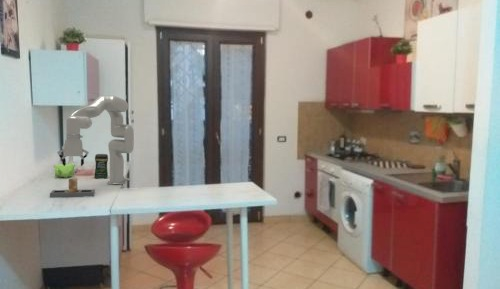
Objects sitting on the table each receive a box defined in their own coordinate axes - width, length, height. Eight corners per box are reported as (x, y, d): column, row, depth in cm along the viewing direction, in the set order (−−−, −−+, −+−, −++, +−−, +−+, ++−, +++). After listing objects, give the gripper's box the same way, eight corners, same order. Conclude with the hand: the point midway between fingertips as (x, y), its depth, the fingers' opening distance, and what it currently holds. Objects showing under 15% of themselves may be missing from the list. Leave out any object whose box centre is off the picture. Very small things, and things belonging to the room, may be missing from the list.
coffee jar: (93, 178, 303) (93, 154, 302) (95, 177, 311) (95, 153, 310) (107, 178, 305) (107, 154, 304) (108, 177, 313) (108, 153, 312)
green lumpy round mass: (71, 175, 316) (72, 161, 315) (77, 178, 305) (78, 163, 304) (51, 176, 306) (51, 162, 305) (56, 179, 295) (56, 164, 295)
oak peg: (77, 194, 246) (77, 178, 245) (76, 196, 241) (76, 179, 241) (69, 194, 244) (69, 178, 244) (68, 196, 240) (68, 179, 239)
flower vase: (79, 170, 341) (79, 141, 339) (78, 174, 323) (78, 143, 322) (62, 171, 336) (62, 141, 334) (60, 174, 319) (60, 142, 317)
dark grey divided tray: (94, 193, 251) (94, 189, 250) (93, 196, 242) (93, 192, 242) (52, 194, 244) (52, 190, 244) (49, 197, 235) (49, 193, 235)
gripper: (89, 137, 246) (89, 164, 248) (58, 136, 241) (58, 164, 243) (88, 137, 239) (88, 166, 240) (56, 137, 234) (56, 166, 236)
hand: (73, 165), depth 242 cm, fingers open, 9 cm apart
